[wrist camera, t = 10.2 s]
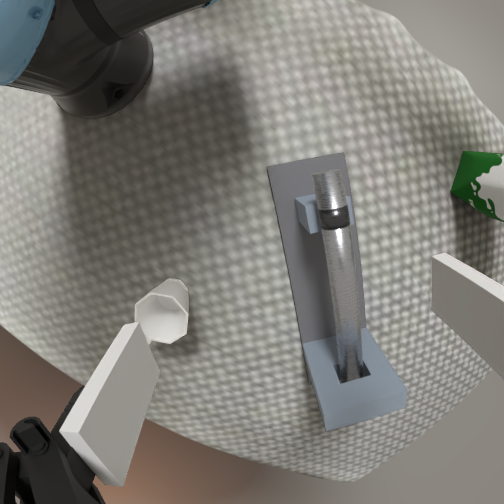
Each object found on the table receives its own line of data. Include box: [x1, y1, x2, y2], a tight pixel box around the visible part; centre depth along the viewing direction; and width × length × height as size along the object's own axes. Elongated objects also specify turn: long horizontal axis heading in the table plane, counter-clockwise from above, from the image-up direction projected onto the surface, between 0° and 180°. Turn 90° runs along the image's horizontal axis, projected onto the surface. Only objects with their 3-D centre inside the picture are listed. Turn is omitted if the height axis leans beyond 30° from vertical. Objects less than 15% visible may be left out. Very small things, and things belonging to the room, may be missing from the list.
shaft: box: [311, 169, 363, 384], centre depth 34 cm, size 26×3×3 cm, turn 13°
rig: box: [267, 153, 407, 431], centre depth 36 cm, size 34×10×16 cm, turn 13°
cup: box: [135, 278, 189, 345], centre depth 40 cm, size 7×10×8 cm
